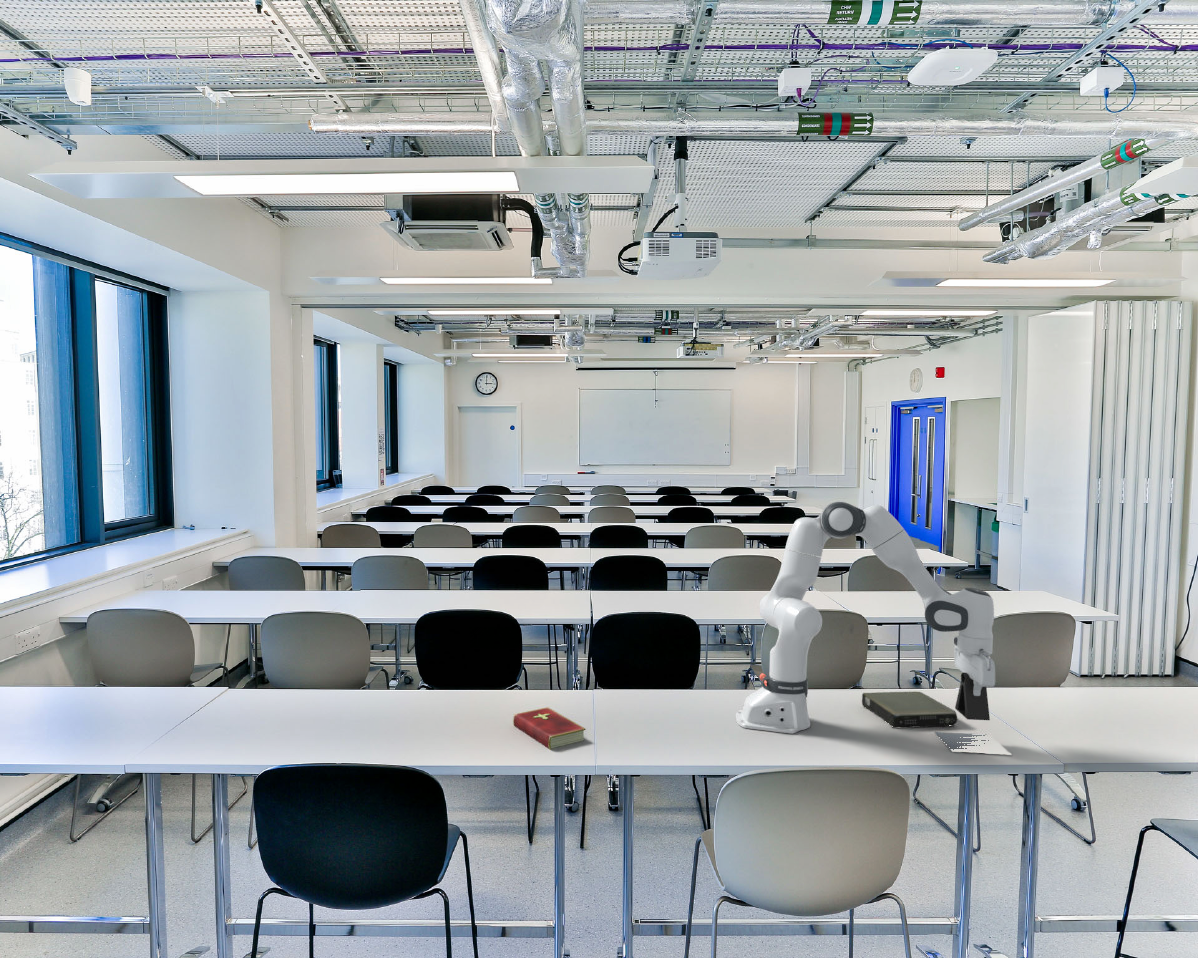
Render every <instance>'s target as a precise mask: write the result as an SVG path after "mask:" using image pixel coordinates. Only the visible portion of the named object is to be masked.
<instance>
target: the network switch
mask: <svg viewBox="0 0 1198 958" xmlns="http://www.w3.org/2000/svg"><path fill="white" fill-rule="evenodd" d="M861 698H862V699H861V704H862V706H863V708H865V707H866V708H865V709H867V710H868V711H871V712H872V713H873V712H874V713H873V714H875V715H877V716H878V717H879V718H881V719H882V720H883V721H884V722H885V721H886V722H887V723H886V722H885V723H886V724H888V723H889V724H888V725H890V726H891V727H892V726H893V727H907V728H914V727H913V726H920V727H944V726H949V725H953V726H955V725H956V724H957V721H958V715H957V712H956V710H954V709H952V708H950V707H949V706H947V705H945V704H943V703H942V702H940V701H938V700H936V699H934V698H933V697H931V696H929V695H927V694H925V693H923V692H921V691H889V692H888V691H887V692H885V691H883V692H878V691H877V692H863V693H862V695H861Z"/></svg>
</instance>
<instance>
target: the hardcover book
mask: <svg viewBox="0 0 1198 958" xmlns="http://www.w3.org/2000/svg"><path fill="white" fill-rule="evenodd" d="M512 721H513V722H512V724H513V727H515V728H517V729H518V730H519V731H521V732H522V733H524V734H525V735H527V736H528V737H530V738H532V739H533V740H534V741H536V742H538V744H540V745H542V746H543V747H545V748H546V749H549V750H551V749H554V748H559V747H563V746H567V745H571V744H575V743H580V742H583V741H584V737H585V736H584V735H585V734H584V731H586V730H587V729H586V727H583V726H582V725H580V724H579V723H576V722H575V721H573V720H571V719H569V718H568V717H566V716H564V715H562V714H561V713H559V712H557V711H555V710H553V709H552V708H550V707H548V706H547V707H543V708H537V709H533V710H528V711H523V712H519V713H515V714H514V715H513V719H512Z"/></svg>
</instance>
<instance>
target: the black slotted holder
mask: <svg viewBox="0 0 1198 958" xmlns="http://www.w3.org/2000/svg"><path fill="white" fill-rule="evenodd" d="M960 674H961V675H960V683H959V688H958V692H957V697H956V702H955V706H954V707H955V708H954V709H955V711H957V712H958V713H960V714H961V715H962V716H963V717H964V718H965V719H966V720H971V721H990V720H991V719H990V718H991V717H990V708H989V702H988V701H989V700H988V698H989V697H988V690H987V688H988V687H982V689H981V694H980V696H975V695H973V687H974V683H973V681H974V680H972V679H971V678H970V677H969V674H967V673H963V672H961V673H960Z"/></svg>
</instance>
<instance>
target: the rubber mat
mask: <svg viewBox="0 0 1198 958" xmlns="http://www.w3.org/2000/svg"><path fill="white" fill-rule="evenodd" d="M935 733H936V734H937V736H938V737H940V739H942V741H943V742H945V744H947V746H948V747H950V749H953V750H954V749H964V748H962V746H975V745H967V744H971V743H962V742H972V741H974V742H975V741H978V740H971V739H975V738H963V737H972V736H973V737H974V736H976V737H977V736H982V735H972V734H973V733H966V732H965V733H963V732H946V731H941V732H940V731H934V734H935ZM985 735H986V734H985ZM985 735H983V736H985ZM937 736H936V737H937ZM938 737H937V738H938ZM960 737H961V738H960ZM940 739H939V740H940ZM942 741H941V742H942ZM981 741H986V740H981ZM988 741H989V740H988ZM943 742H942V743H943ZM957 742H958V743H957ZM959 742H961V743H959ZM945 744H944V745H945ZM964 744H965V745H964ZM984 744H985V743H984ZM947 746H946V747H947ZM960 746H961V748H959V747H960ZM976 746H977V745H976ZM979 746H980V745H979ZM957 747H958V748H957ZM965 749H967V748H965Z"/></svg>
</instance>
